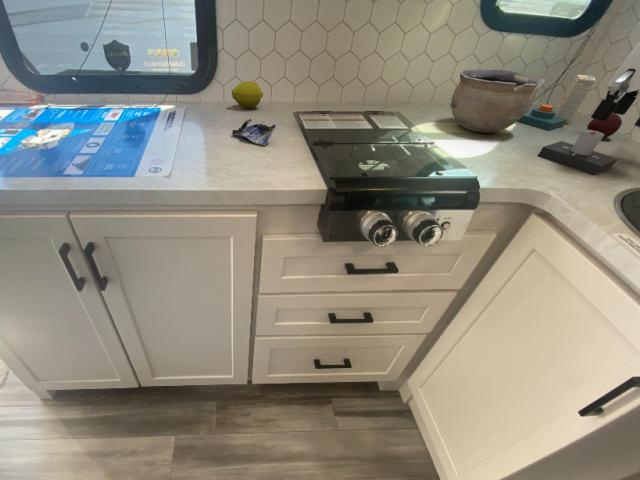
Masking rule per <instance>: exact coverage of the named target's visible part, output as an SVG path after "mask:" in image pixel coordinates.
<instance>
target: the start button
mask: <svg viewBox="0 0 640 480" xmlns="http://www.w3.org/2000/svg"><path fill="white" fill-rule="evenodd" d="M539 107H540V108H539V109H538V110H539V111H543V112H551V111H552V110H554V105H551V104H547V103H546V104H545V103H543V104H540V106H539Z"/></svg>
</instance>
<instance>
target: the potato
mask: <svg viewBox="0 0 640 480" xmlns="http://www.w3.org/2000/svg"><path fill="white" fill-rule="evenodd" d="M622 125H623V121H622V118H621V117H620V114H615V113H612V114H611V115H610V116H609V118H608V119H607V120H606V121H601V120H597V119H593V118H592V119H591V120H590V121H589V123H588V124H587V127H586V130H593V131H598V132H601V133H603V134H604V136H603V138H602V139H605V138H609V137H611V136H612V135H614V134H615V133H616V132H618V130H619V129H620V128H621V127H622Z"/></svg>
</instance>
